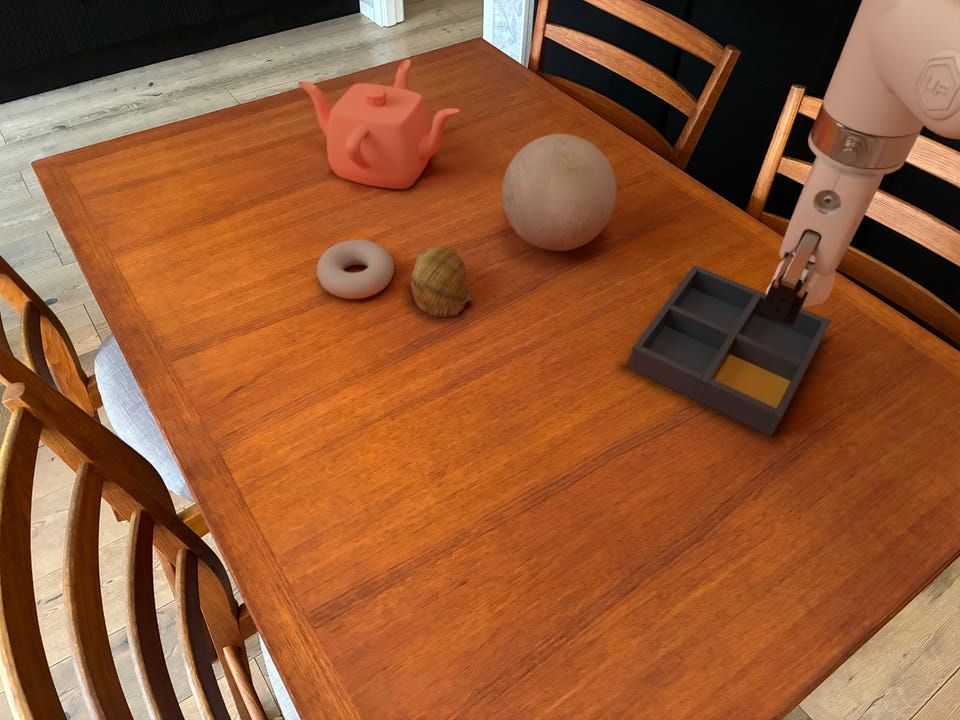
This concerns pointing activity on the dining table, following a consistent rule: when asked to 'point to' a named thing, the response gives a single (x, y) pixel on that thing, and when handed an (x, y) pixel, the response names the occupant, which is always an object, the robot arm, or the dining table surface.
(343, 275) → the donut
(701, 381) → the grid
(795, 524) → the dining table surface
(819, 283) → the garlic bulb
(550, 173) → the decorative sphere
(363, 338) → the dining table surface
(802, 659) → the dining table surface
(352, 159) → the pot
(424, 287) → the seashell
